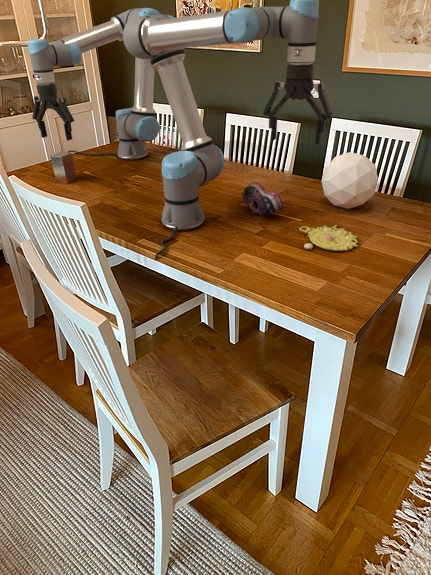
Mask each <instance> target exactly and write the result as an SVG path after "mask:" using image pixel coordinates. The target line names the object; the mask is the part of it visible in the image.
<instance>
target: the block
mask: <svg viewBox="0 0 431 575" xmlns="http://www.w3.org/2000/svg"><path fill="white" fill-rule="evenodd" d="M50 160H51V164H52V169H53V173H54V174H53V175H54V178H55V182H56V183H60V184H67V185H68V184H70V183H72V182H74V181H76V180H78V178H77V172H76V167H75V163H74V158H73V152H69V153H68V151H67V152H66V151H57V152H56V153H53V154H51V155H50Z"/></svg>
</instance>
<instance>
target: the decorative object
mask: <svg viewBox="0 0 431 575" xmlns="http://www.w3.org/2000/svg"><path fill="white" fill-rule="evenodd" d="M303 228H304V229H305V230H304V229H303ZM299 231H300V232H303V233H305V234H307V237H308V238H309V240H310V241H311V243H304V244H303V248H304V249H305V250H313V249H314V245H315V246H316V247H318V248H321V249H324V250H328V251H335V252H341V251H348V250H352V249H354V247H356V248H358V247H359V245H358V244H357V243H359V240H357V238H359V237H358V235H353V234H352V231H347V230H346V229H345V228H344V227H342V228H338V224H335V225H333V226H331V227H328V226H327V225H326V224H325V225H323V226H322V227H321V226H317V227H316V228H314V227H309V226H308V225H302V226H300V227H299ZM313 244H314V245H313Z"/></svg>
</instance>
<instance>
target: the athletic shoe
mask: <svg viewBox="0 0 431 575" xmlns="http://www.w3.org/2000/svg"><path fill="white" fill-rule="evenodd" d="M241 197H242V199H243V201H238V203H239V204H241V205H245V206H246V207H247V208H248V210H249V211H250V210H251V213H252V214H255V215H260V217H266V216H267V215H270V214H274V213H275V212H279V211H282V210H283V209H284V205H283V201H282V198H281V196H280V195H279V194H278V192H277V191H274V190H269V191H267V190H266V189H265V187H264V186H263V185H262V184H261V183H258V182H251V183H249V184H247V186H246V187H245V188H244V190H243V191H242V192H241Z"/></svg>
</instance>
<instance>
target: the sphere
mask: <svg viewBox="0 0 431 575" xmlns="http://www.w3.org/2000/svg"><path fill="white" fill-rule="evenodd" d="M378 181H379V178H378V172H377V166H376V164H375V163H373V161H372V160H370V159H369V158H368V157H367V156H366V155H364V154H360V153H356V152H352V151H349V152H345V153H342V154H340V155H336V156H335V157H333V159H332V160H331V161H330V162H329V163H328V164H327V165H326V166H325V168H324V170H323V174H322V178H321V181H320V182H321V185H322V186H321V187H322V191H323V195H324V196H325V198H327V200H329V202H330V203H331V204H332V205H333V206H336V207H340V208H343V209H347V210H349V209H352V208H353V209H354V208H356V207H359V206H363V205H364V204H365V203H366V202H367V201H369V200H370V199H371V198H372V197H373V196H374V195H375V192H376V188H377V184H378Z"/></svg>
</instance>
